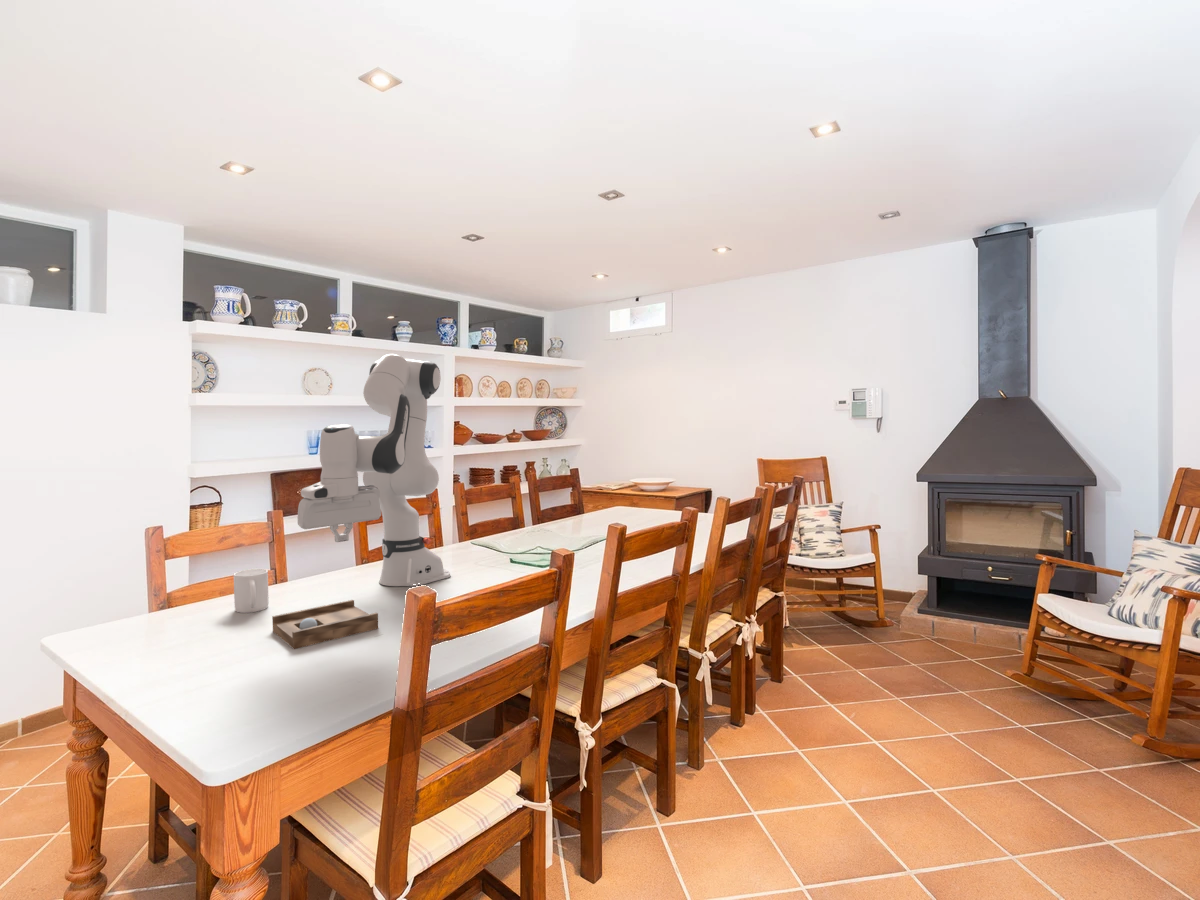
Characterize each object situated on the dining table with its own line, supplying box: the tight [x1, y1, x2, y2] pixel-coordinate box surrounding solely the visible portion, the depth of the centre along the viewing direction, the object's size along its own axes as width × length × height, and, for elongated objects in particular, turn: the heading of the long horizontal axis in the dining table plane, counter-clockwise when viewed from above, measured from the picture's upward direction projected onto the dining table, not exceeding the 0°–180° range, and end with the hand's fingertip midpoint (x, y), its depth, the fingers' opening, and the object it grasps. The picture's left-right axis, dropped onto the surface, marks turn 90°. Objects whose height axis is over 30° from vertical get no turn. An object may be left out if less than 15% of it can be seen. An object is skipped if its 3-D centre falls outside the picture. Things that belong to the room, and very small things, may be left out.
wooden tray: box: [271, 599, 379, 650], centre depth 155 cm, size 20×16×4 cm
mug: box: [233, 568, 270, 614], centre depth 170 cm, size 12×8×10 cm
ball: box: [299, 618, 317, 629], centre depth 152 cm, size 4×4×4 cm
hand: (341, 541), depth 159 cm, fingers closed
